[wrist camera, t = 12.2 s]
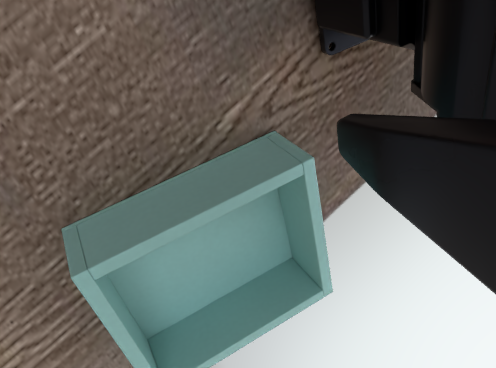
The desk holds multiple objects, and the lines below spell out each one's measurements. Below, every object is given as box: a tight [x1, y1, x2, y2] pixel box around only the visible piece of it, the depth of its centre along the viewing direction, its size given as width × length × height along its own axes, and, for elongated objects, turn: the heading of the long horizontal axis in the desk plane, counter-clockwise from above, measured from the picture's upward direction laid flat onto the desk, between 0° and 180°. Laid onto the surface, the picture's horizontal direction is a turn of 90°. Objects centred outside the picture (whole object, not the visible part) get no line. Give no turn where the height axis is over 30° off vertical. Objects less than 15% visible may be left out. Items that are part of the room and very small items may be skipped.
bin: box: [61, 131, 333, 368], centre depth 25 cm, size 14×12×4 cm
